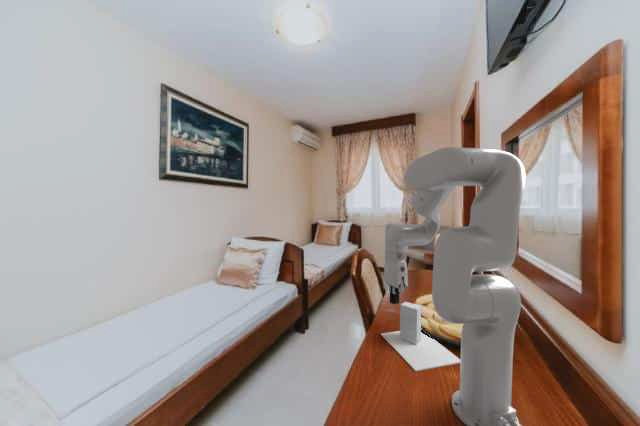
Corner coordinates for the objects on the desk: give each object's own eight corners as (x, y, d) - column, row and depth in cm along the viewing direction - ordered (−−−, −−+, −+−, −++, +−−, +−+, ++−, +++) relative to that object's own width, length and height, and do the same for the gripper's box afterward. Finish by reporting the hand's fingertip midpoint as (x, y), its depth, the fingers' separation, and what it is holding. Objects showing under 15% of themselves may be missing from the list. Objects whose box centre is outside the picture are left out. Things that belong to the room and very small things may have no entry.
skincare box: (421, 340, 84) (422, 305, 84) (416, 345, 81) (417, 309, 80) (404, 333, 88) (405, 301, 88) (399, 338, 85) (399, 304, 85)
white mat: (462, 362, 73) (462, 361, 73) (415, 371, 69) (415, 370, 69) (419, 329, 92) (419, 328, 92) (380, 334, 88) (380, 333, 88)
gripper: (416, 259, 87) (415, 310, 88) (393, 251, 102) (392, 295, 102) (397, 260, 85) (396, 312, 86) (376, 252, 100) (376, 296, 101)
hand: (394, 302), depth 94 cm, fingers closed
